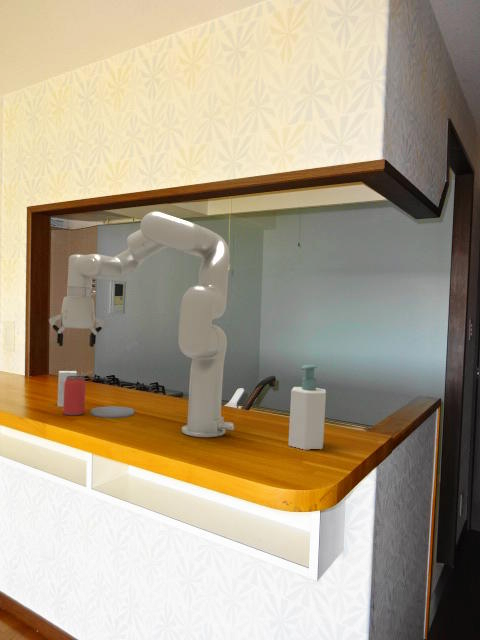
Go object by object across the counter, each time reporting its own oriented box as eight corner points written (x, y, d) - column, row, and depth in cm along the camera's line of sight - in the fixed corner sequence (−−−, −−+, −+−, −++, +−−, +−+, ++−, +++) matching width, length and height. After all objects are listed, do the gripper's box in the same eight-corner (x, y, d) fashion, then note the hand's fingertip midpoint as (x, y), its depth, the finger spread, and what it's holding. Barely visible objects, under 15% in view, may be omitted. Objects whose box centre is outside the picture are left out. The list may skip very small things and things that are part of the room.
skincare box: (75, 404, 176) (77, 370, 175) (75, 406, 171) (77, 372, 171) (57, 404, 174) (58, 370, 173) (56, 407, 170) (58, 372, 169)
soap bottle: (280, 444, 136) (285, 364, 135) (300, 439, 142) (304, 362, 142) (312, 452, 129) (317, 368, 129) (330, 446, 136) (335, 366, 135)
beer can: (77, 416, 156) (79, 378, 156) (58, 414, 158) (60, 377, 157) (88, 412, 163) (89, 376, 163) (69, 411, 164) (71, 375, 164)
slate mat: (141, 411, 169) (141, 408, 169) (120, 419, 155) (120, 416, 155) (105, 407, 173) (105, 404, 173) (81, 414, 159) (81, 411, 159)
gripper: (103, 295, 167) (100, 345, 167) (49, 291, 159) (46, 344, 159) (109, 295, 161) (105, 347, 161) (52, 291, 152) (49, 346, 153)
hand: (76, 346), depth 160 cm, fingers open, 9 cm apart
